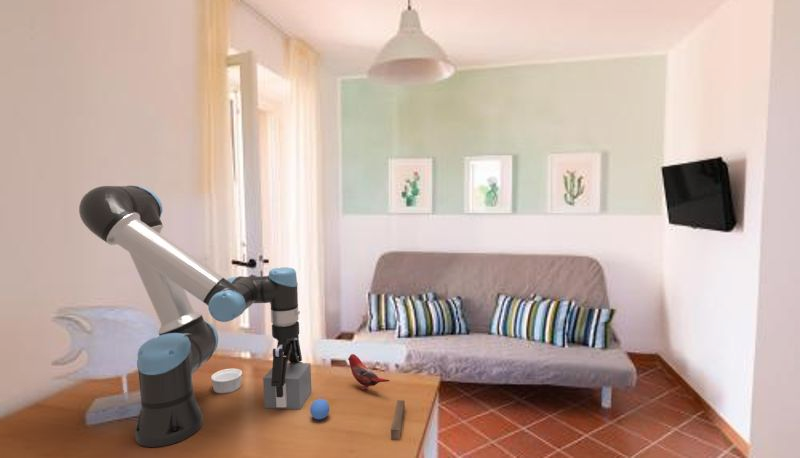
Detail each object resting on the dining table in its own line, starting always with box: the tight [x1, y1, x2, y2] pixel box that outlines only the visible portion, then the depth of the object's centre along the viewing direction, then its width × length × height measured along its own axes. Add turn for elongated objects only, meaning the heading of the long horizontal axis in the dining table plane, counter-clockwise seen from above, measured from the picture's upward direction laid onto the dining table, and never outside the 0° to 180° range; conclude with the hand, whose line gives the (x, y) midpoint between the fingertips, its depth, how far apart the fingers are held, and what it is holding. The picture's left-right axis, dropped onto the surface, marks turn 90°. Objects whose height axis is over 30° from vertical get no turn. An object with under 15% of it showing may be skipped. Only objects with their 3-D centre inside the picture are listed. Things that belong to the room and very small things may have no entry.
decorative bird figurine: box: [347, 353, 391, 392], centre depth 125 cm, size 3×18×10 cm, turn 49°
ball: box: [309, 398, 330, 420], centre depth 111 cm, size 5×5×5 cm
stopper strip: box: [390, 399, 406, 441], centre depth 108 cm, size 2×14×2 cm, turn 174°
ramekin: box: [210, 368, 243, 394], centre depth 130 cm, size 9×9×4 cm
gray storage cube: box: [262, 362, 312, 410], centre depth 121 cm, size 10×10×9 cm
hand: (288, 396), depth 121 cm, fingers closed on gray storage cube, 10 cm apart
